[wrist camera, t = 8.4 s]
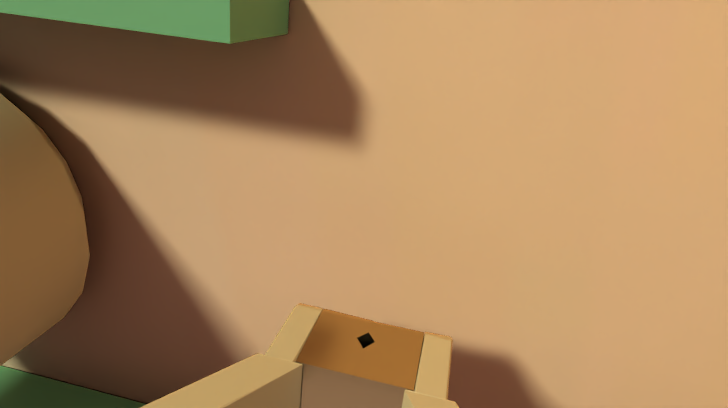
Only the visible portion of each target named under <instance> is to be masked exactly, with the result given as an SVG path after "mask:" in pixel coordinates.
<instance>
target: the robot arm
mask: <svg viewBox="0 0 728 408" xmlns="http://www.w3.org/2000/svg"><path fill="white" fill-rule="evenodd" d="M423 337H424V338H423ZM452 343H453V340H452V338H451V337H450V336H445V335H440V334H434V333H429V332H425V334H424V332H420V331H415V330H411V329H406V328H402V327H397V326H393V325H388V324H384V323H379V322H374V321H372V320H368V319H364V318H360V317H356V316H352V315H348V314H344V313H340V312H336V311H332V310H328V309H323V308H319V307H315V306H311V305H306V304H302V303H299V304H298V305H296V306H295V307H294V309H293V310H292V312H291V314H290V315H289V317H288V318H287V320H286V322H285V323H284V325H283V326H282V328H281V330H280V331H279V333H278V334H277V336H276V338H275V339H274V341H273V343H272V344H271V346H270V347H269V349H268V351H267V352H266V354H265V355H263V354H259V353H257V354H255V355H252V356H250V357H248V358H246V359H244V360H242V361H239V362H237V363H235V364H233V365H231V366H229V367H226V368H224V369H222V370H220V371H218V372H216V373H213V374H211V375H209V376H207V377H205V378H203V379H201V380H198V381H196V382H194V383H192V384H190V385H188V386H185V387H183V388H181V389H179V390H177V391H175V392H172V393H170V394H168V395H166V396H164V397H162V398H159V399H157V400H155V401H153V402H151V403H149V404H146V405H144V406H142V407H140V408H459V406H458V405H457V403H456V402H454V401H450V400H447V399H448V388H449V377H450V365H451V354H452Z"/></svg>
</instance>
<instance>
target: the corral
mask: <svg viewBox="0 0 728 408" xmlns="http://www.w3.org/2000/svg"><path fill="white" fill-rule="evenodd" d="M0 12H1V13H8V14H15V15H23V16H30V17H37V18H45V19H52V20H59V21H67V22H74V23H81V24H89V25H96V26H103V27H111V28H118V29H125V30H133V31H140V32H147V33H155V34H162V35H169V36H177V37H184V38H191V39H199V40H206V41H213V42H221V43H228V44H232V43H237V42H243V41H249V40H255V39H261V38H267V37H273V36H279V35H285V34H288V18H289V0H0ZM144 405H146V404H144V403H140V402H136V401H132V400H129V399H125V398H121V397H117V396H113V395H110V394H106V393H102V392H98V391H95V390H91V389H87V388H83V387H79V386H76V385H72V384H68V383H64V382H61V381H57V380H53V379H49V378H46V377H42V376H38V375H34V374H30V373H27V372H23V371H19V370H15V369H12V368H8V367H4V366H0V408H140V407H142V406H144Z"/></svg>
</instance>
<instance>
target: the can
mask: <svg viewBox="0 0 728 408" xmlns="http://www.w3.org/2000/svg"><path fill="white" fill-rule="evenodd" d="M89 258H90V253H89V246H88V239H87V229H86V222H85V215H84V208H83V201H82V196H81V194H80V192H79V189H78V187H77V185H76V183H75V180H74V178H73V176H72V173H71V171H70V169H69V166H68V164H67V162H66V161H65V159H64V158H63V157H62V155H61V154H60V152H59V151H58V150H57V148H56V147H55V146H54V144H53V143H52V142H51V140H50V139H49V138H48V136H47V135H46V134H45V132H44V131H43V129H42V128H40V127H39V126H38V125H37V124H36V123H35V122H33V121H32V120H31V119H30V118H29V117H28V116H26V115H25V114H24V113H23V112H22V111H21V110H19V109H18V108H17V107H16V106H15V105H14V104H12V103H11V102H10V101H9V100H8V99H6V98H5V97H4V96H3V95H2V94H1V93H0V366H1V365H2V364H4V363H5V362H6V361H8V360H9V359H10V358H12V357H13V356H14V355H16V354H17V353H18V352H20V351H21V350H22V349H23V348H25V347H26V346H27V345H29V344H30V343H31V342H33V341H34V340H35V339H37V338H38V337H39V336H41V335H42V334H43V333H45V332H46V331H47V330H48V329H50V328H51V327H52V326H54V325H55V324H56V323H58V322H59V321H60V320H62V319H63V318H64V317H65V316H66V314H67V313H68V312H69V310H70V309H71V307H72V306H73V305H74V303H75V302H76V301H77V299H78V298H79V296H80V295H81V294H82V292H83V288H84V283H85V278H86V273H87V268H88V263H89Z"/></svg>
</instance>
